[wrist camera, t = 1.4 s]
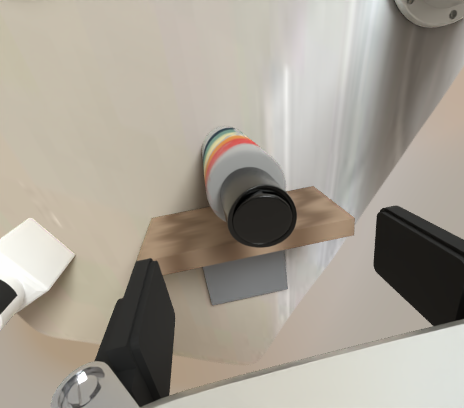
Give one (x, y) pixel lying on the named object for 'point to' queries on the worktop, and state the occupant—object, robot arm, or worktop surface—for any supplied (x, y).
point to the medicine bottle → (28, 266)
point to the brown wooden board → (225, 246)
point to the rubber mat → (246, 277)
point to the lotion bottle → (247, 189)
